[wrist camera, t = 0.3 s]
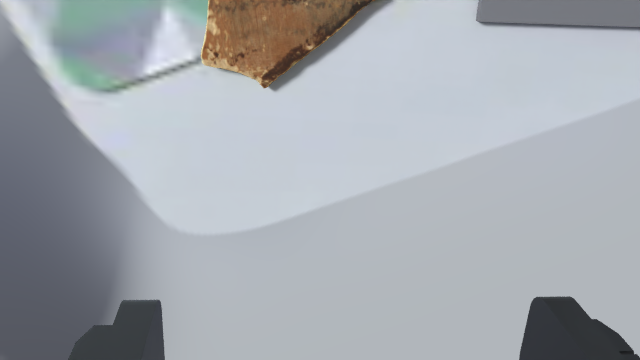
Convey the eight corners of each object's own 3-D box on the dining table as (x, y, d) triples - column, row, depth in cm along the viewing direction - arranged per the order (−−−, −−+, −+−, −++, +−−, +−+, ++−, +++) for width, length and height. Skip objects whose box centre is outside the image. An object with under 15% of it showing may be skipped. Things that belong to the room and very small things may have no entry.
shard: (386, -16, 38) (392, -14, 36) (360, 100, 41) (365, 107, 39) (215, -51, 36) (212, -50, 35) (200, 73, 39) (197, 79, 37)
